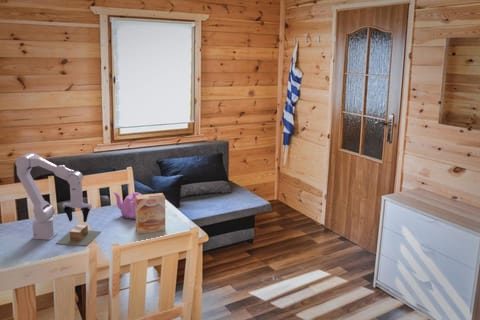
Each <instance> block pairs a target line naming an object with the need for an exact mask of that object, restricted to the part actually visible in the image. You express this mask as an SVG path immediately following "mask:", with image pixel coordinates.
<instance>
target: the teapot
mask: <svg viewBox="0 0 480 320" xmlns="http://www.w3.org/2000/svg"><path fill="white" fill-rule="evenodd" d="M112 194H114V195H115V198H116V205H117V206H116V207H117V208H118V209H119V210H120V214H121V215H122V216H123V217H124V218H127V219H131V220H132V219H133V220H136V213H135V195H143V194H142V193H141V192H137V191H135V192H132V193H131V194H128V195H126V197H125V198H124V200H122V201H123V202H122V201H121V197H120V194H119V193H118V192H114V191H113V192H112Z"/></svg>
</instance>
